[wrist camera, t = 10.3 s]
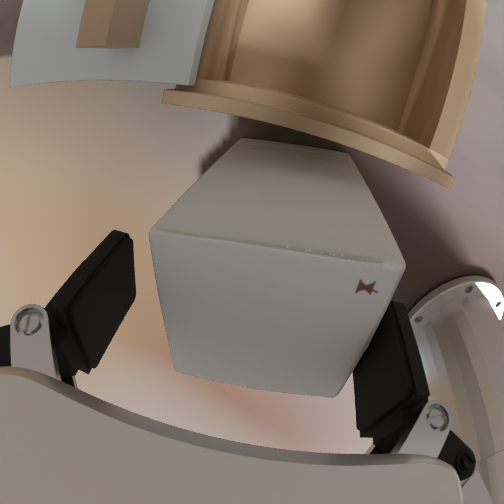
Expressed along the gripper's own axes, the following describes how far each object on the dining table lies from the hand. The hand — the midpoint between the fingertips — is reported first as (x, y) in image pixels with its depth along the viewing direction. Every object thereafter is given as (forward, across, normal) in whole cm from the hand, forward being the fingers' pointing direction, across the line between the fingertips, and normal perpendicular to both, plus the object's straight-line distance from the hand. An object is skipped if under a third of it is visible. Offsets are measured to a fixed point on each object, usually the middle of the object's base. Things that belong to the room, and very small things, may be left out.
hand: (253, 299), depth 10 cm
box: (+11, -1, -12) cm, 16 cm away
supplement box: (+11, -1, 0) cm, 11 cm away
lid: (+5, +11, -12) cm, 17 cm away
